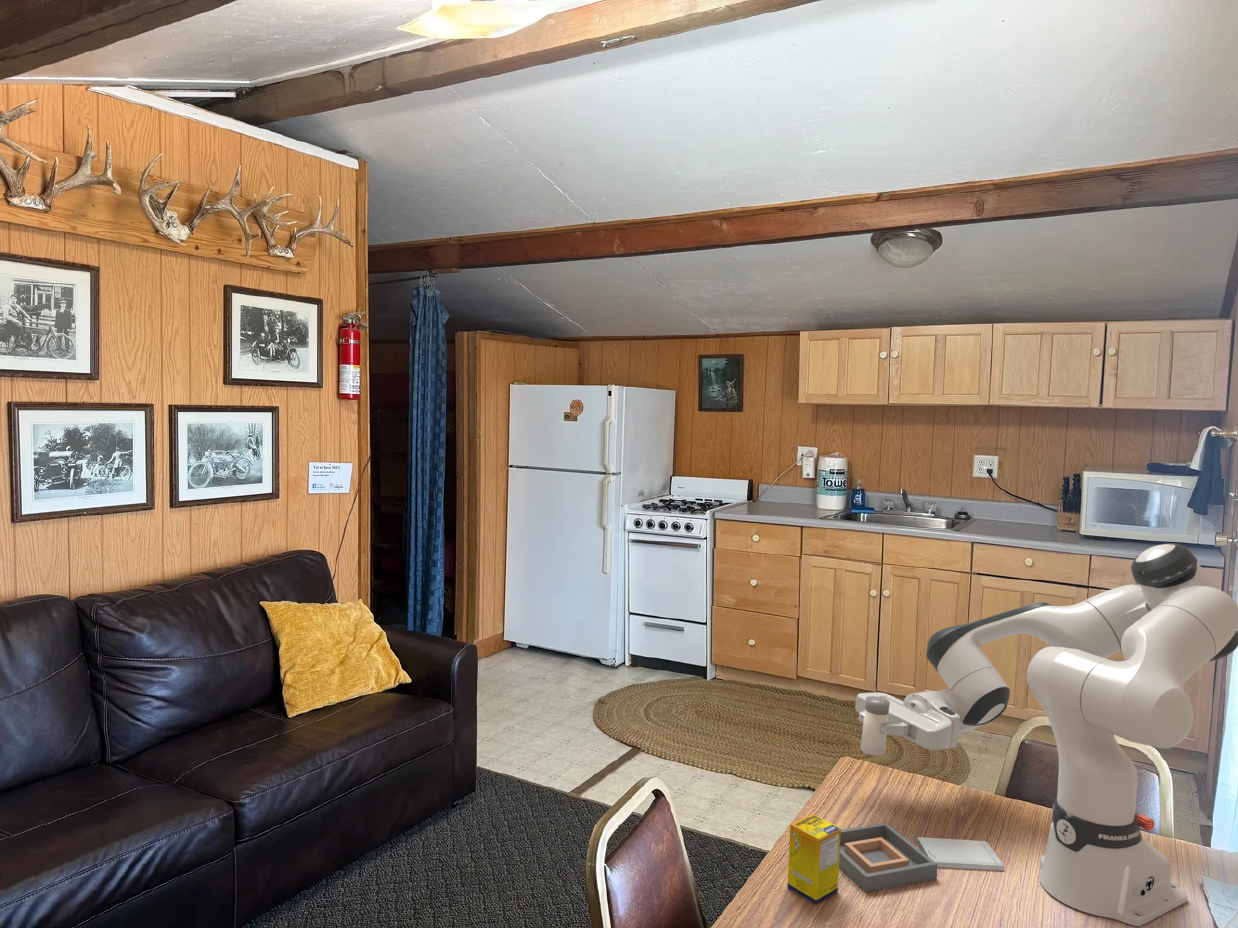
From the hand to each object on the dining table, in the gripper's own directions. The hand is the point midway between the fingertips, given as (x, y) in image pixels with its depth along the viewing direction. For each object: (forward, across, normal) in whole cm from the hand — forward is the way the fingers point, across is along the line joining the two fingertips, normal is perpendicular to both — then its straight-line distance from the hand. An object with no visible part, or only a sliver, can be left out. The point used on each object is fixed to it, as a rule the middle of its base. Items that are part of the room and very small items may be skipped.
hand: (871, 723), depth 160 cm
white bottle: (-1, 0, +6) cm, 6 cm away
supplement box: (+26, +16, +19) cm, 36 cm away
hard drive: (-5, +19, +18) cm, 26 cm away
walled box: (+10, +14, +18) cm, 25 cm away
